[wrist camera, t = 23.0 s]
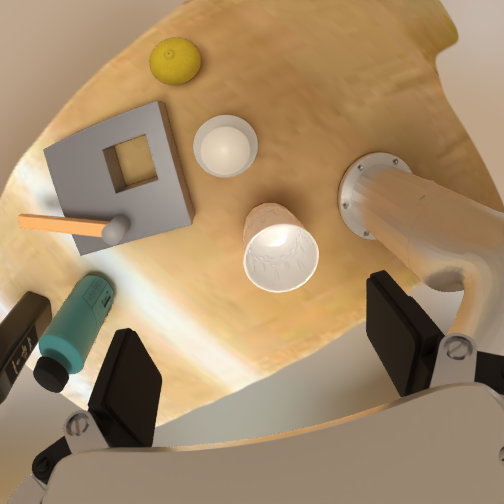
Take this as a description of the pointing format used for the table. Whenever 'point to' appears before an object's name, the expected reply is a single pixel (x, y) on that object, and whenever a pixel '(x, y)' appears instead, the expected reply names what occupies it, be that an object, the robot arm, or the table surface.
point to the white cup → (277, 249)
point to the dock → (121, 177)
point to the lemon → (175, 61)
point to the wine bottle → (21, 337)
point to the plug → (225, 146)
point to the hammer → (78, 226)
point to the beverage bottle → (73, 332)
